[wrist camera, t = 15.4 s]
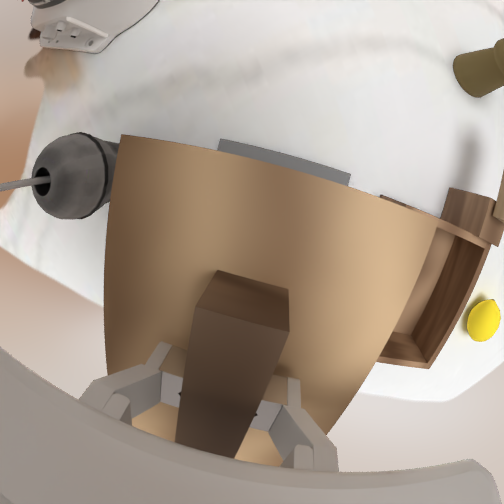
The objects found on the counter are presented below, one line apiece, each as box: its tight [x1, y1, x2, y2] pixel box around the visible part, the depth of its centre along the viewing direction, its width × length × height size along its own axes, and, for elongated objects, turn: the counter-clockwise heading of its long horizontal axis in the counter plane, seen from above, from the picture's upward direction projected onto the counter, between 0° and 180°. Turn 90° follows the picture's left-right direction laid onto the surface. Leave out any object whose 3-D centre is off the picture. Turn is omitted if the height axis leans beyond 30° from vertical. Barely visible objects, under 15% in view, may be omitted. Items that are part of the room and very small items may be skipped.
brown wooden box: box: [376, 188, 504, 369], centre depth 26 cm, size 12×20×8 cm, turn 166°
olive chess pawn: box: [453, 38, 504, 97], centre depth 16 cm, size 6×6×11 cm
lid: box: [104, 134, 439, 467], centre depth 11 cm, size 12×16×5 cm
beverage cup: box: [0, 132, 119, 219], centre depth 20 cm, size 7×7×20 cm
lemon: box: [467, 299, 501, 342], centre depth 28 cm, size 7×5×5 cm
